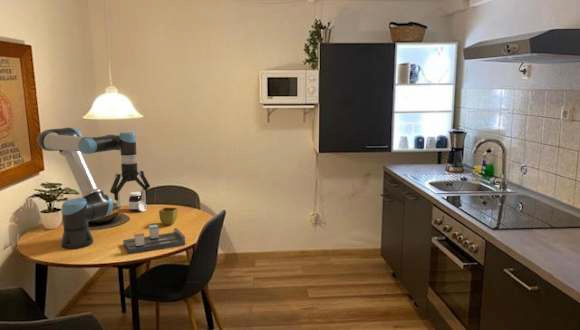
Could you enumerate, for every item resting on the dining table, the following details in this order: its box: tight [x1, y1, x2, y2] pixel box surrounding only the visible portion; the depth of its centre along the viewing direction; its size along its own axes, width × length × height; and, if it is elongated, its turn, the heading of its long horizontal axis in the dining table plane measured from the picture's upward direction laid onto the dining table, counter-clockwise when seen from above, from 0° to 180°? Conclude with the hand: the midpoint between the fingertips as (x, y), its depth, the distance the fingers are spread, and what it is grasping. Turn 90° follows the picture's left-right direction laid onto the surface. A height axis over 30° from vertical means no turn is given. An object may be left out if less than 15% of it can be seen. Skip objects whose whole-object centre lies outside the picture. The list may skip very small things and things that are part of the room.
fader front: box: [133, 230, 145, 246], centre depth 233 cm, size 4×4×6 cm
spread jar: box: [128, 191, 148, 213], centre depth 306 cm, size 12×11×12 cm
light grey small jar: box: [148, 224, 160, 239], centre depth 244 cm, size 4×4×6 cm
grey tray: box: [122, 227, 186, 255], centre depth 241 cm, size 28×16×5 cm, turn 119°
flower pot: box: [158, 207, 179, 226], centre depth 276 cm, size 9×9×9 cm
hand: (131, 204), depth 236 cm, fingers open, 13 cm apart
